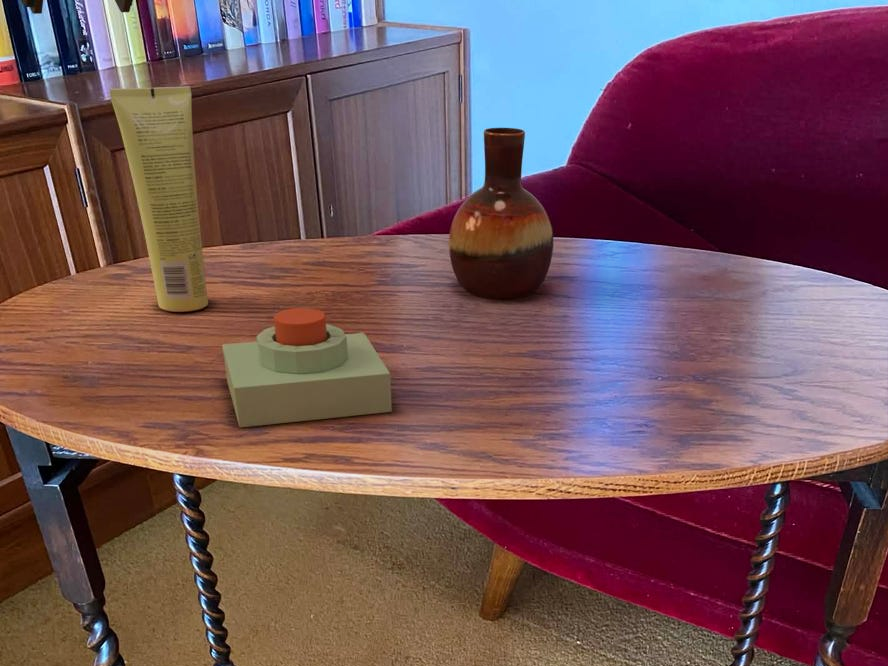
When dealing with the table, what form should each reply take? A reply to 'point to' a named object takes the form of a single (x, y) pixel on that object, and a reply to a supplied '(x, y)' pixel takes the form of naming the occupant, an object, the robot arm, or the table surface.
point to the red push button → (300, 327)
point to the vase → (501, 227)
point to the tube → (165, 189)
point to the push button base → (306, 379)
